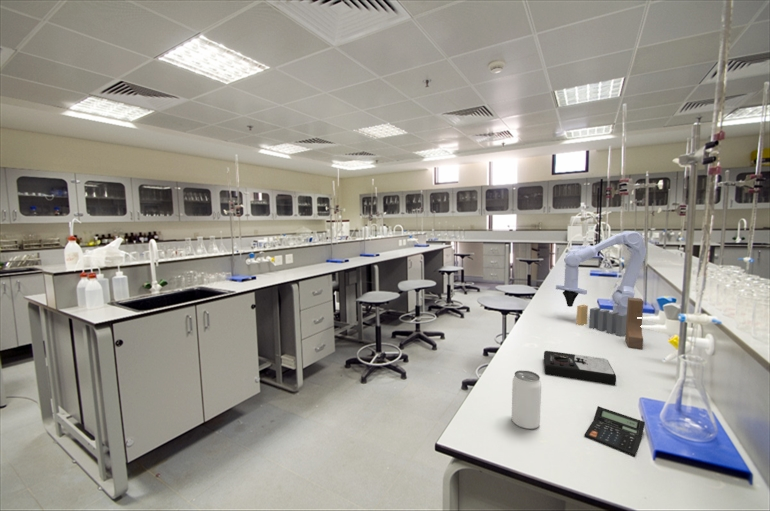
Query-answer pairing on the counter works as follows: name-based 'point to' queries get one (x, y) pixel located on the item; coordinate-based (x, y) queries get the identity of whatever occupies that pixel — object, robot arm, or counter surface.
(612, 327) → the slate domino
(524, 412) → the can
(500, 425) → the counter surface
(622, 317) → the slate domino
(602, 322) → the slate domino
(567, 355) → the multimeter
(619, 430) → the calculator
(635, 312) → the wooden block
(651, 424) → the counter surface
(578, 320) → the ochre domino
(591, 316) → the slate domino
